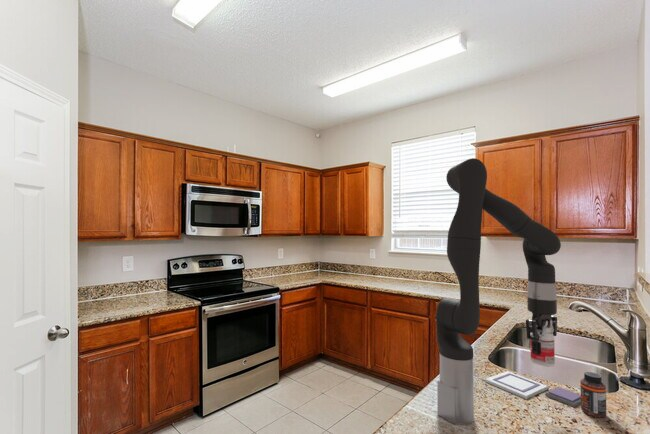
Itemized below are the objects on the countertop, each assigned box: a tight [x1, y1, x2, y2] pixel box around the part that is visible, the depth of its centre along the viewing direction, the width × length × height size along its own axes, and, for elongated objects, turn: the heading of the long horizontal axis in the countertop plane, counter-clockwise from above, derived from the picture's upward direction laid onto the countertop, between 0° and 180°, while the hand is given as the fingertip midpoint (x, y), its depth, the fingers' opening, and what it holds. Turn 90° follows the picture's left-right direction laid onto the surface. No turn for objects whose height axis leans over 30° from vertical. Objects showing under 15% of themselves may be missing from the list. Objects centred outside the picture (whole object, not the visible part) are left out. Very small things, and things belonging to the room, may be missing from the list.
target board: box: [484, 370, 549, 400], centre depth 114 cm, size 14×14×1 cm
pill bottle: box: [529, 327, 556, 367], centre depth 99 cm, size 6×6×11 cm
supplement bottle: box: [579, 371, 607, 419], centre depth 97 cm, size 6×6×11 cm
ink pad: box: [545, 386, 581, 408], centre depth 105 cm, size 8×8×2 cm
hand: (542, 352), depth 99 cm, fingers closed on pill bottle, 6 cm apart
